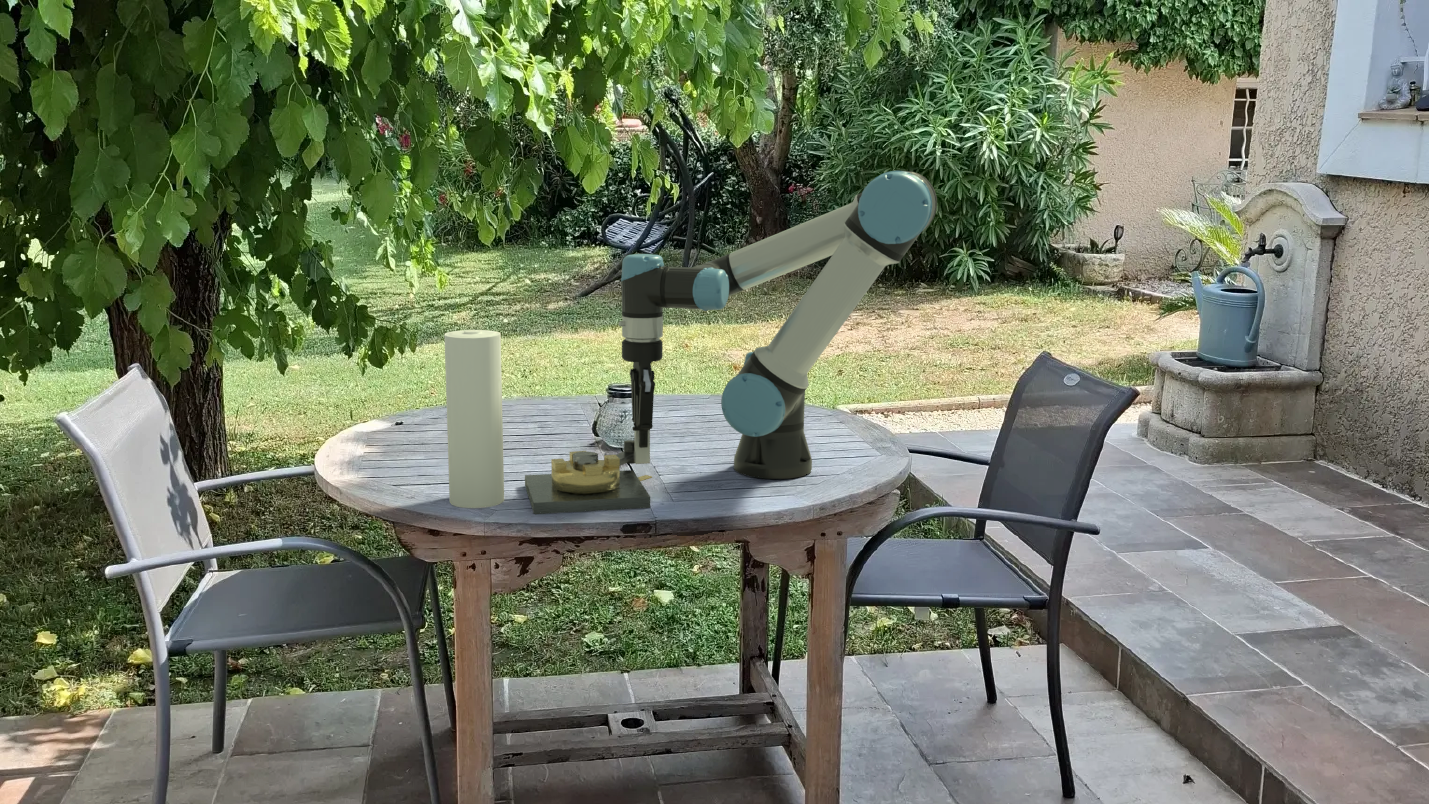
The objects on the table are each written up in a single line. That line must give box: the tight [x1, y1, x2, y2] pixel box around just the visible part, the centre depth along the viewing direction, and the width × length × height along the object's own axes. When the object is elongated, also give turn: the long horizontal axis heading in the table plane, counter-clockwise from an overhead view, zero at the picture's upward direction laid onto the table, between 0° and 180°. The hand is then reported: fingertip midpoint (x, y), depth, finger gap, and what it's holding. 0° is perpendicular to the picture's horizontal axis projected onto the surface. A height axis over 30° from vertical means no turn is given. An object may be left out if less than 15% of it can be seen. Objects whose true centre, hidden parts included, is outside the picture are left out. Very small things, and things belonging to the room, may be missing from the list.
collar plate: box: [524, 469, 653, 515], centre depth 219 cm, size 24×21×2 cm
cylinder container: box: [444, 329, 505, 509], centre depth 211 cm, size 9×9×30 cm
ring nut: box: [550, 439, 635, 493], centre depth 222 cm, size 24×12×5 cm, turn 155°
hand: (642, 462), depth 230 cm, fingers closed
